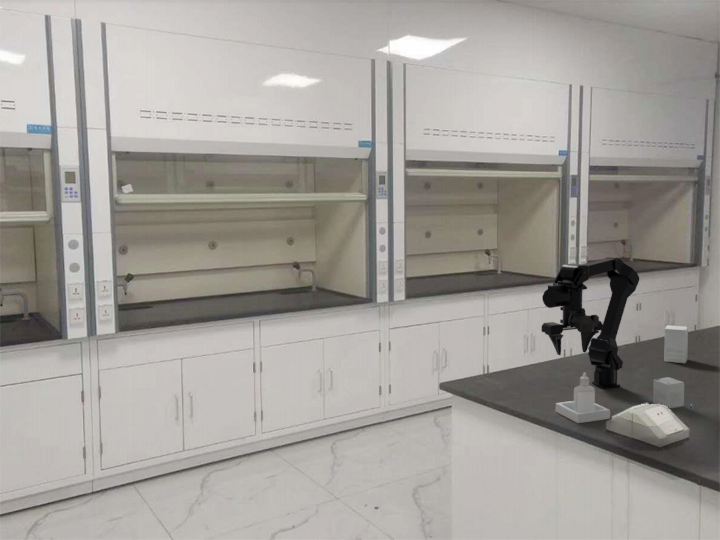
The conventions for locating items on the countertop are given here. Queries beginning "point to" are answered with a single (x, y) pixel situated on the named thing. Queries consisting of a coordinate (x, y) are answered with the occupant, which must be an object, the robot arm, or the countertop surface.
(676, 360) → the supplement box
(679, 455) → the countertop surface
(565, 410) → the square tray
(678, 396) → the skincare box
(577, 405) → the eye dropper bottle
